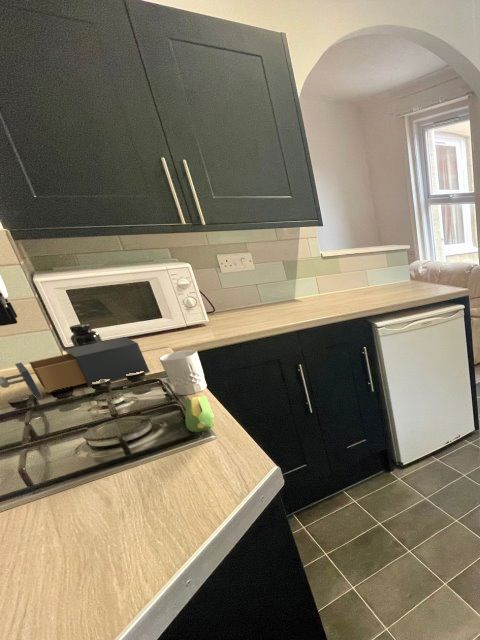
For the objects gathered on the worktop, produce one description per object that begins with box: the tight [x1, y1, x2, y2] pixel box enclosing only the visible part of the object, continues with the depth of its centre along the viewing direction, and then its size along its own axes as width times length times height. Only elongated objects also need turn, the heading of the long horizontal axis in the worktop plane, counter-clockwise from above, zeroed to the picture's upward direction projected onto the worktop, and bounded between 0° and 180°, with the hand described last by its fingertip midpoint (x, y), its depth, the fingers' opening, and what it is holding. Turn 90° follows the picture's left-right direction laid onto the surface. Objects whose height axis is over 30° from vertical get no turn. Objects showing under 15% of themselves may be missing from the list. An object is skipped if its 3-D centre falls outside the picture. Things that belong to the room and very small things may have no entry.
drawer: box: [0, 353, 87, 399], centre depth 114 cm, size 17×11×7 cm
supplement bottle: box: [69, 322, 103, 348], centre depth 136 cm, size 7×7×12 cm
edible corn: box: [184, 395, 215, 433], centre depth 95 cm, size 5×20×5 cm, turn 38°
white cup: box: [159, 349, 208, 396], centre depth 110 cm, size 8×8×10 cm
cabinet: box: [65, 336, 150, 388], centre depth 123 cm, size 14×13×9 cm
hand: (8, 321), depth 107 cm, fingers open, 9 cm apart
